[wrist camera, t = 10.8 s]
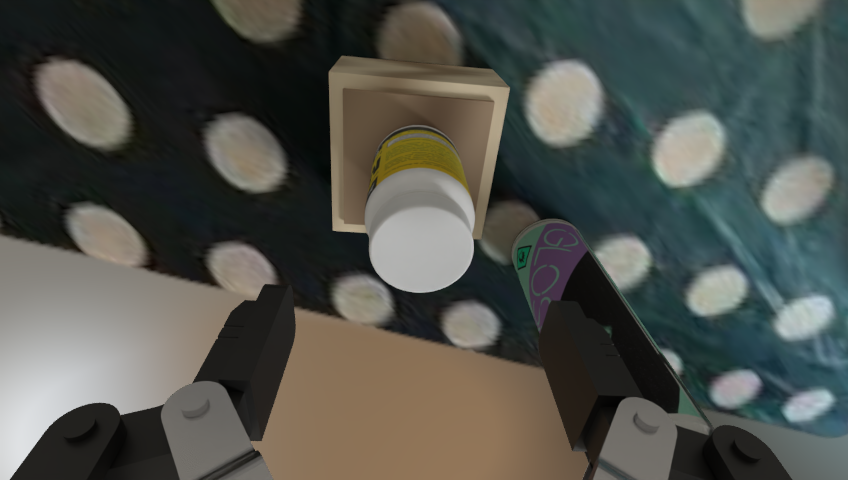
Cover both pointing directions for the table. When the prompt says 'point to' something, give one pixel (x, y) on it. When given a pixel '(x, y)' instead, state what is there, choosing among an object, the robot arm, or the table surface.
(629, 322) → the spray can
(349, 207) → the base block
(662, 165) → the table surface
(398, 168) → the supplement bottle
